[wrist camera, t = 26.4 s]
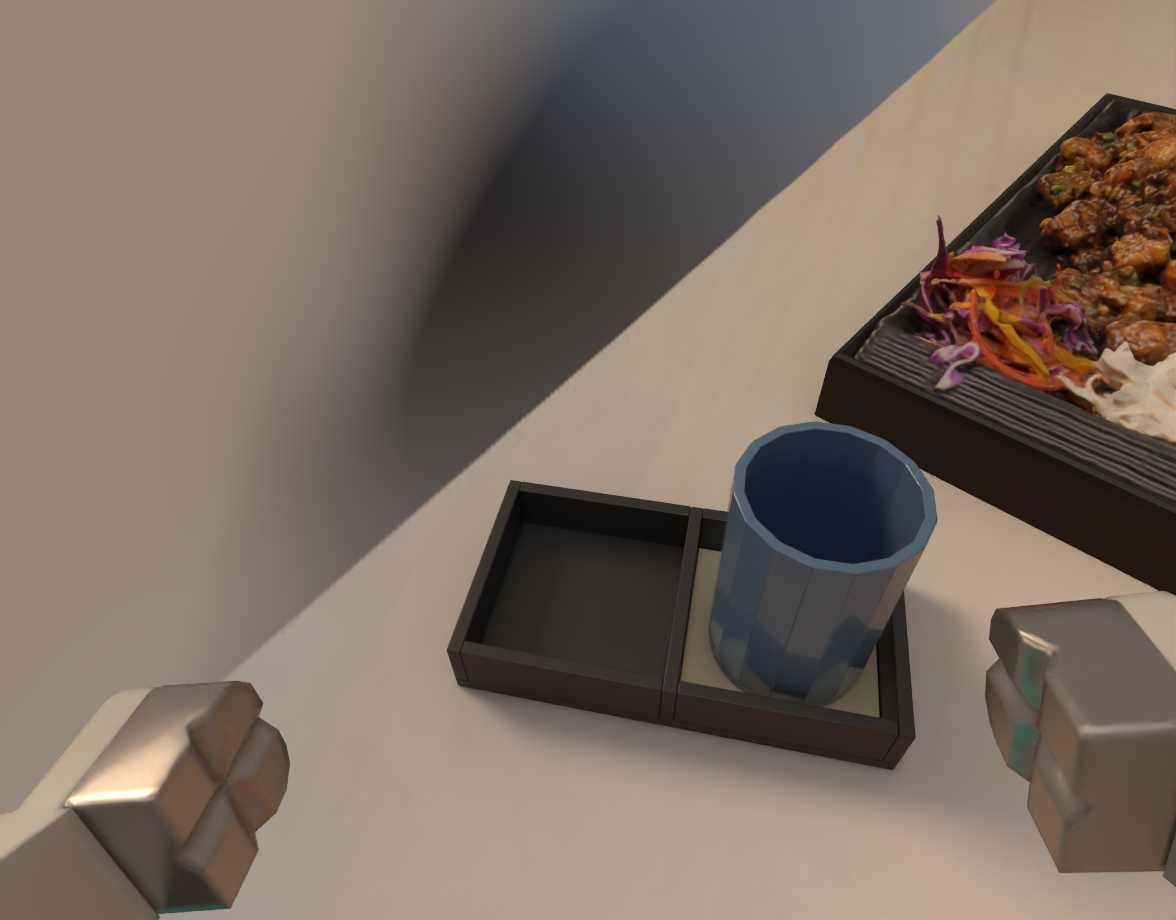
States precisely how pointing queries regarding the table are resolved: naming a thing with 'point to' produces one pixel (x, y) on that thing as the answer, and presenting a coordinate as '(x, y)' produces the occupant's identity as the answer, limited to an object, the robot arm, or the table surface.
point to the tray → (647, 628)
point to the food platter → (1045, 347)
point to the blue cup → (814, 558)
